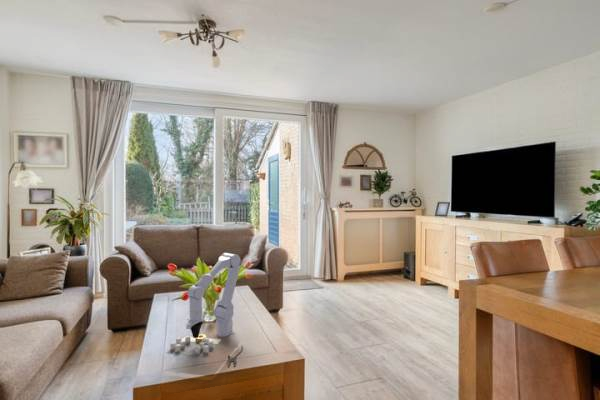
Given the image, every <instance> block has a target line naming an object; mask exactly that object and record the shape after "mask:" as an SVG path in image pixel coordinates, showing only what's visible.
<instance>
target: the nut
mask: <svg viewBox="0 0 600 400" xmlns="http://www.w3.org/2000/svg"><path fill="white" fill-rule="evenodd" d="M206 335H207V334H204V333H203V334H202V333H201V334H200V333H199V336H198V338H196V339H195V340H196V342H197V343H201V342H204V338H207V336H206Z"/></svg>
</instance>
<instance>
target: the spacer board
mask: <svg viewBox="0 0 600 400" xmlns="http://www.w3.org/2000/svg"><path fill="white" fill-rule="evenodd" d="M195 339H196V338H193V336H190V335H186V336H185V337H183V338H182V337H177V338H176V339H175V342H174V341H172V342H170V344H169V345H170V346H169V347H170V348H169V349H168V351H166V354H175V355H185V356H192V357H203V358H204V357H205V358H206V357H207V356H208V355H209V354H210V353H211V352H212V351H213V350H214V349H215V347H216V346H217V345H218V344H219V343H220V342H221V341H222V339H220V338H210V337H206V338H204V342H201V343H197V342H196V340H195Z"/></svg>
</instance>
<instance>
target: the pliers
mask: <svg viewBox="0 0 600 400" xmlns="http://www.w3.org/2000/svg"><path fill="white" fill-rule="evenodd" d="M240 347H241V350H240V351H239V352H238V353H236V354H235V355H234V356H233V357H232V356H231V355H228V356H227V358H228V359H227V362H226V366H227V368H230V366H231V363H232V364H233V367H234V368H235V367H236V365H237V364H238V363H237V357H238V356H239V355H240V354H241V353H242V352H243V350H244V346H243V345H240Z"/></svg>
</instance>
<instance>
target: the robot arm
mask: <svg viewBox="0 0 600 400" xmlns="http://www.w3.org/2000/svg"><path fill="white" fill-rule="evenodd" d="M241 261H242V259H241V257H240V256H239V254H237V253H236V254H235V253H228V252H223V253H221V255H220V256H219V257H218V260H217V262H216V263H215V265H213V266H212V268H211V269H210V270H209V271H208V273H204V274H202V275H201V278H199V279H198V280H197V282H195V283H194V284H193V285H191V286H189V288H188V289H187V292H186V295H187V296H188V300H189V318H187V323H186V325H185V326H186V327H185V328H186V330H187V329H188V330H190V331H191V334H192V337H193V338H198V336H199V335H200V331H201V329H202V326H203V324H204V322H203V319H204V318H205V313H203V307H202V306H203V303H202V302H203V301H202V300H203V297H204V295H205V292H206V290H207V289H208V287H210V285H211V284H212V283H213V282H214V278H215V276H216V275H218V273H220V271H222V270H223V269H224V268H226V269H227V270H228V273H227V276H226V281H225V285H224V289H223V292H222V296H221V300H219V301H218V302H217V304H216V306H215V308H214V310H213V315H214V317H215V319H216V336H218V337H228V336H230V335H231V334H234V332H235V331H234V330H233V322H234V321H233V317H234V308H235V306H234V304H233V302H232V300H233V296H234V293H235V288H236V285H237V281H238V277H239V273H240V266H241Z"/></svg>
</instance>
